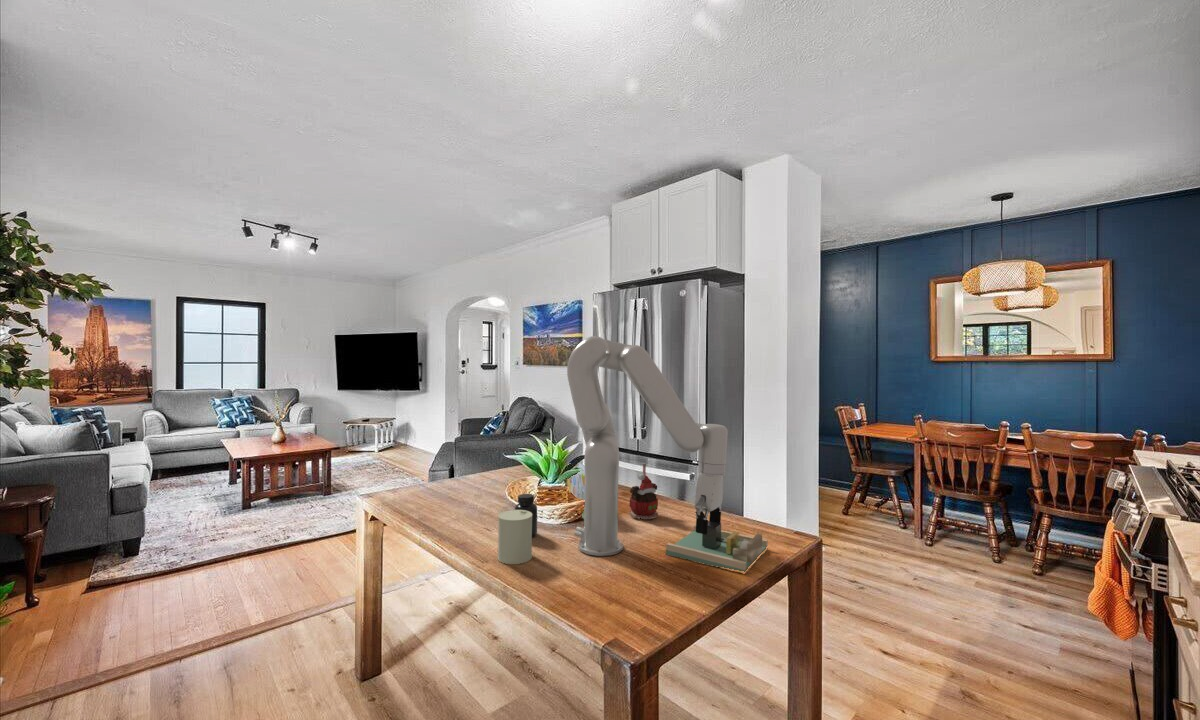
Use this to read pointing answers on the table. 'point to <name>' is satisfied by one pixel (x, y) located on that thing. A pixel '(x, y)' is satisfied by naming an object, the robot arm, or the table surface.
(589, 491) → the robot arm
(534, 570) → the table surface
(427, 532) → the table surface
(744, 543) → the ball
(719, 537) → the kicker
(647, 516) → the santa hat candy apple
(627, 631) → the table surface
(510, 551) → the can
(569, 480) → the snack box
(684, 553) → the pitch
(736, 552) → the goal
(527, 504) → the supplement bottle
